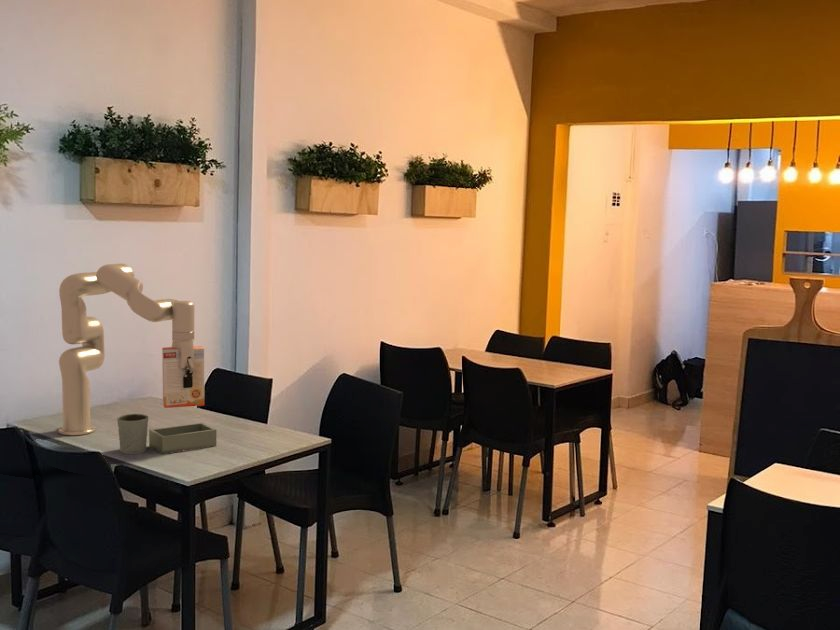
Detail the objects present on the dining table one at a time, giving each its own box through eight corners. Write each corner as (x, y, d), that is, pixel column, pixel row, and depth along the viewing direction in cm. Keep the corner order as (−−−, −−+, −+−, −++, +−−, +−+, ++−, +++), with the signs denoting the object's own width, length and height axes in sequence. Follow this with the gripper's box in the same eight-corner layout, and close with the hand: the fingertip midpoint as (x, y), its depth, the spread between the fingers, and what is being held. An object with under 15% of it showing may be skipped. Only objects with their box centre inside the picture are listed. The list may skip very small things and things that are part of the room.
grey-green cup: (150, 446, 300) (150, 413, 299) (145, 454, 290) (145, 420, 289) (120, 446, 298) (120, 413, 297) (114, 454, 289) (114, 420, 287)
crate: (149, 446, 301) (149, 429, 300) (202, 438, 313) (202, 422, 312) (162, 454, 291) (162, 437, 291) (216, 445, 304) (216, 429, 303)
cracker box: (202, 402, 306) (202, 345, 303) (204, 406, 300) (204, 348, 298) (162, 404, 301) (162, 346, 298) (163, 408, 295) (163, 349, 293)
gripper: (163, 333, 302) (163, 382, 304) (183, 340, 289) (183, 391, 291) (183, 332, 307) (183, 380, 309) (203, 338, 293) (203, 388, 295)
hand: (183, 385), depth 300 cm, fingers closed on cracker box, 7 cm apart
